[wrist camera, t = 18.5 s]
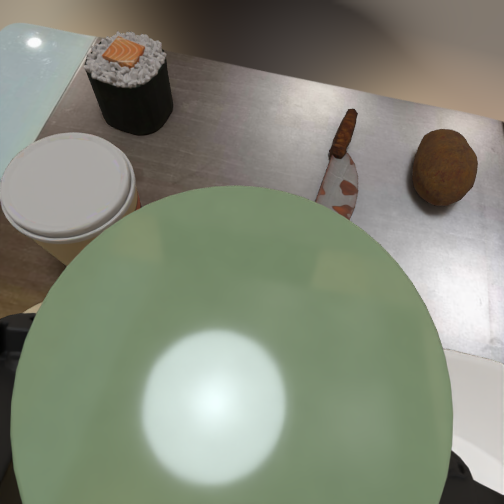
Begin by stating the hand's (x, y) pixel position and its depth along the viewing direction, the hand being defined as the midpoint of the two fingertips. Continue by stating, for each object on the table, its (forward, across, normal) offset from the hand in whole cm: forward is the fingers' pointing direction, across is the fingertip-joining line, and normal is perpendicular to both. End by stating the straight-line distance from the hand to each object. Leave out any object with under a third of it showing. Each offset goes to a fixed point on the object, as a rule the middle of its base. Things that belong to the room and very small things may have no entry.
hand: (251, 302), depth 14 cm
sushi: (+34, -19, +5) cm, 39 cm away
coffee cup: (+20, -15, -8) cm, 27 cm away
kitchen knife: (+31, +7, +2) cm, 32 cm away
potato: (+33, +18, +4) cm, 38 cm away
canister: (0, 0, -5) cm, 5 cm away
